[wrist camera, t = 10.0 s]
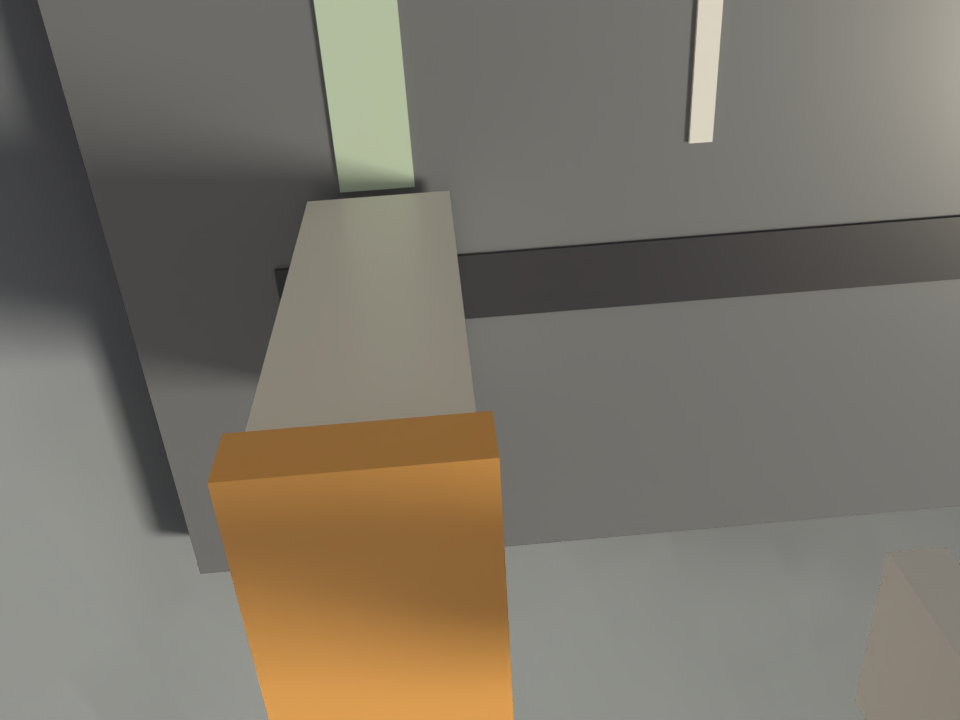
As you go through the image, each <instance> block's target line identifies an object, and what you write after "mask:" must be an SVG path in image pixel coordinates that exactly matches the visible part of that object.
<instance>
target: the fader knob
mask: <svg viewBox="0 0 960 720" xmlns="http://www.w3.org/2000/svg"><path fill="white" fill-rule="evenodd" d="M207 484H208V488H209V492H210V496H211V500H212V504H213V507H214V511H215V515H216V519H217V523H218V526H219V530H220V534H221V538H222V542H223V546H224V549H225V553H226V557H227V561H228V565H229V569H230V572H231V576H232V580H233V584H234V588H235V591H236V595H237V599H238V603H239V607H240V611H241V614H242V618H243V622H244V626H245V630H246V634H247V637H248V641H249V645H250V649H251V653H252V656H253V660H254V664H255V668H256V672H257V676H258V679H259V683H260V687H261V691H262V695H263V699H264V702H265V706H266V710H267V714H268V718H269V720H514V718H513V699H512V681H511V662H510V643H509V625H508V606H507V588H506V569H505V550H504V532H503V513H502V495H501V476H500V458H499V451H498V444H497V438H496V431H495V424H494V417H493V411H485V412H476V407H475V399H474V391H473V382H472V374H471V366H470V357H469V349H468V341H467V332H466V324H465V316H464V307H463V299H462V291H461V283H460V274H459V266H458V258H457V249H456V241H455V233H454V224H453V216H452V208H451V199H450V191H438V192H425V193H412V194H399V195H386V196H373V197H360V198H347V199H333V200H320V201H307V205H306V208H305V212H304V216H303V219H302V223H301V227H300V231H299V234H298V238H297V242H296V245H295V249H294V253H293V256H292V260H291V264H290V268H289V271H288V275H287V279H286V282H285V286H284V290H283V293H282V297H281V301H280V304H279V308H278V312H277V316H276V319H275V323H274V327H273V330H272V334H271V338H270V341H269V345H268V349H267V353H266V356H265V360H264V364H263V367H262V371H261V375H260V378H259V382H258V386H257V389H256V393H255V397H254V401H253V404H252V408H251V412H250V415H249V419H248V423H247V426H246V430H245V432H236V433H224V434H222V436H221V440H220V443H219V446H218V449H217V453H216V456H215V459H214V462H213V466H212V469H211V472H210V475H209V479H208V482H207Z"/></svg>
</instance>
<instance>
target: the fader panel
mask: <svg viewBox="0 0 960 720" xmlns="http://www.w3.org/2000/svg"><path fill="white" fill-rule="evenodd" d="M37 1H38V4H39V8H40V11H41V15H42V18H43V22H44V25H45V29H46V32H47V36H48V39H49V43H50V46H51V50H52V53H53V57H54V60H55V64H56V67H57V71H58V75H59V78H60V82H61V85H62V89H63V92H64V96H65V99H66V103H67V106H68V110H69V113H70V117H71V120H72V124H73V127H74V131H75V134H76V138H77V141H78V145H79V148H80V152H81V155H82V159H83V162H84V166H85V169H86V173H87V176H88V180H89V183H90V187H91V191H92V194H93V198H94V201H95V205H96V208H97V212H98V215H99V219H100V222H101V226H102V229H103V233H104V236H105V240H106V243H107V247H108V250H109V254H110V257H111V261H112V264H113V268H114V271H115V275H116V278H117V282H118V285H119V289H120V292H121V296H122V299H123V303H124V307H125V310H126V314H127V317H128V321H129V324H130V328H131V331H132V335H133V338H134V342H135V345H136V349H137V352H138V356H139V359H140V363H141V366H142V370H143V373H144V377H145V380H146V384H147V387H148V391H149V394H150V398H151V401H152V405H153V408H154V412H155V416H156V419H157V423H158V426H159V430H160V433H161V437H162V440H163V444H164V447H165V451H166V454H167V458H168V461H169V465H170V468H171V472H172V475H173V479H174V482H175V486H176V489H177V493H178V496H179V500H180V503H181V507H182V510H183V514H184V517H185V521H186V524H187V528H188V532H189V535H190V539H191V542H192V546H193V549H194V553H195V556H196V560H197V563H198V567H199V570H200V574H204V573H215V572H226V571H230V569H229V565H228V561H227V557H226V553H225V549H224V546H223V542H222V538H221V534H220V530H219V526H218V523H217V519H216V515H215V511H214V507H213V504H212V500H211V496H210V492H209V488H208V484H207V482H208V479H209V475H210V472H211V469H212V466H213V462H214V459H215V456H216V453H217V449H218V446H219V443H220V440H221V436H222V434H224V433H236V432H245V430H246V426H247V423H248V419H249V415H250V412H251V408H252V404H253V401H254V397H255V393H256V389H257V386H258V382H259V378H260V375H261V371H262V367H263V364H264V360H265V356H266V353H267V349H268V345H269V341H270V338H271V334H272V330H273V327H274V323H275V319H276V316H277V312H278V308H279V304H280V301H281V297H282V293H283V290H284V286H285V282H286V279H287V275H288V271H289V268H290V264H291V260H292V256H293V253H294V249H295V245H296V242H297V238H298V234H299V231H300V227H301V223H302V219H303V216H304V212H305V208H306V205H307V201H320V200H333V199H347V198H360V197H373V196H386V195H399V194H412V193H425V192H438V191H450V199H451V208H452V216H453V224H454V233H455V241H456V249H457V258H458V266H459V274H460V283H461V291H462V299H463V307H464V316H465V324H466V332H467V341H468V349H469V357H470V366H471V374H472V382H473V391H474V399H475V407H476V412H485V411H493V417H494V424H495V431H496V438H497V444H498V451H499V458H500V476H501V495H502V513H503V532H504V547H505V546H516V545H528V544H539V543H550V542H561V541H572V540H583V539H595V538H606V537H617V536H628V535H639V534H650V533H662V532H673V531H684V530H695V529H706V528H718V527H729V526H740V525H751V524H762V523H773V522H785V521H796V520H807V519H818V518H829V517H840V516H852V515H863V514H874V513H885V512H896V511H907V510H919V509H930V508H941V507H952V506H960V0H37Z"/></svg>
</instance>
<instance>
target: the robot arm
mask: <svg viewBox="0 0 960 720" xmlns="http://www.w3.org/2000/svg"><path fill="white" fill-rule="evenodd" d="M855 701H856V703H857V705H858V706H859V708H860V710H861V712H862V714H863V716H864V718H865V720H960V564H959V563H958V562H957V560H956V559H955V558H954V556H953V555H952V554H951V553H950V551H949V550H948V549H947V547H941V548H930V549H918V550H907V551H896V552H887V556H886V561H885V565H884V570H883V575H882V579H881V584H880V588H879V593H878V598H877V602H876V607H875V611H874V616H873V621H872V625H871V630H870V634H869V639H868V644H867V648H866V653H865V658H864V662H863V667H862V671H861V676H860V681H859V685H858V690H857V694H856V699H855Z"/></svg>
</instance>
